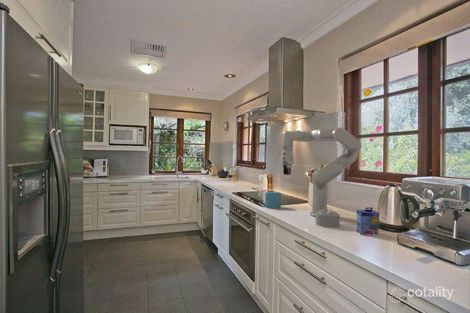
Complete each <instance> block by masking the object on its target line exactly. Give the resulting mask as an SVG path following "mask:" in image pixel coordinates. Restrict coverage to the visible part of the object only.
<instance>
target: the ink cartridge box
mask: <svg viewBox="0 0 470 313" xmlns="http://www.w3.org/2000/svg"><path fill="white" fill-rule="evenodd" d="M379 223H380V212H379V211H376V210H373V206H372V207H366V208H365V209H357V210H356V229H355V230H356V231H355V232H357V233H358V234H359V233H360V234H359V235H361V234H378V235H379V230H380V229H379V228H380V226H379V225H380V224H379Z"/></svg>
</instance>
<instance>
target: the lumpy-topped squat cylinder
mask: <svg viewBox="0 0 470 313" xmlns="http://www.w3.org/2000/svg"><path fill="white" fill-rule="evenodd" d="M340 215H341V214H340V213H338V212H337V211H334V209H333V210H332V209H328V211H327V210H326V209H323V210H320V211H318V212H316V217H315V226H317V225H318V226H317V227H321V226H322V227H323V228H328V227H336V228H339V227H340V220H341V219H340ZM322 227H321V228H322Z"/></svg>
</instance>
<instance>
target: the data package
mask: <svg viewBox="0 0 470 313" xmlns="http://www.w3.org/2000/svg"><path fill="white" fill-rule="evenodd" d="M264 207H266V208H267V209H280V208H282V193H281V192H279V191H266V192H265V193H264Z"/></svg>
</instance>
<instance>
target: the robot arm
mask: <svg viewBox="0 0 470 313" xmlns="http://www.w3.org/2000/svg"><path fill="white" fill-rule="evenodd" d="M294 142H298V143H302V142H304V143H305V142H307V143H309V142H315V143H318V142H319V143H321V142H338V143H340V145H342V146H343V147H344V149H345V151H344V152H343V153H342V154H341V155H339V156H338V157H337V158H335V159H333V160H331V161H329V162H328V163H327V164H326V165H325V166H324V167H322V168H320V169H317V170H316V171H314V172H313V174H312V210H311V212H309V215H310V216H312V217H315V218H316V212H318V211H320V210H323V209H326V210H327V211H329V209H328V183H329V182H331V181H332V180H334V179H335V178H337V177H339V176H340V175H341V174H342V173H343V171H344V170H345V169H346V168H347V167H349V166H351V165H352V164H353V163H354V162H355V161H356V160H357V159H358V156H359V151H360V150H361V148H362V143H361V141H360V140H359V139H358V138H357V137H355V136H354V135H353V134H352V133H351V132H349V131H348V130H346V129H345V128H343V127H337V128H320V129H315V130H310V131H303V130H292V131H290V130H284V131H283V132H282V143H281V144H282V147H281V148H282V152H281V153H282V154H281V165H282V170H283V175H284V174H288V168H287V167H288V165H290V175H291V174H292V166H293V164H294V163H295V162H294V159H295V158H294Z"/></svg>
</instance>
